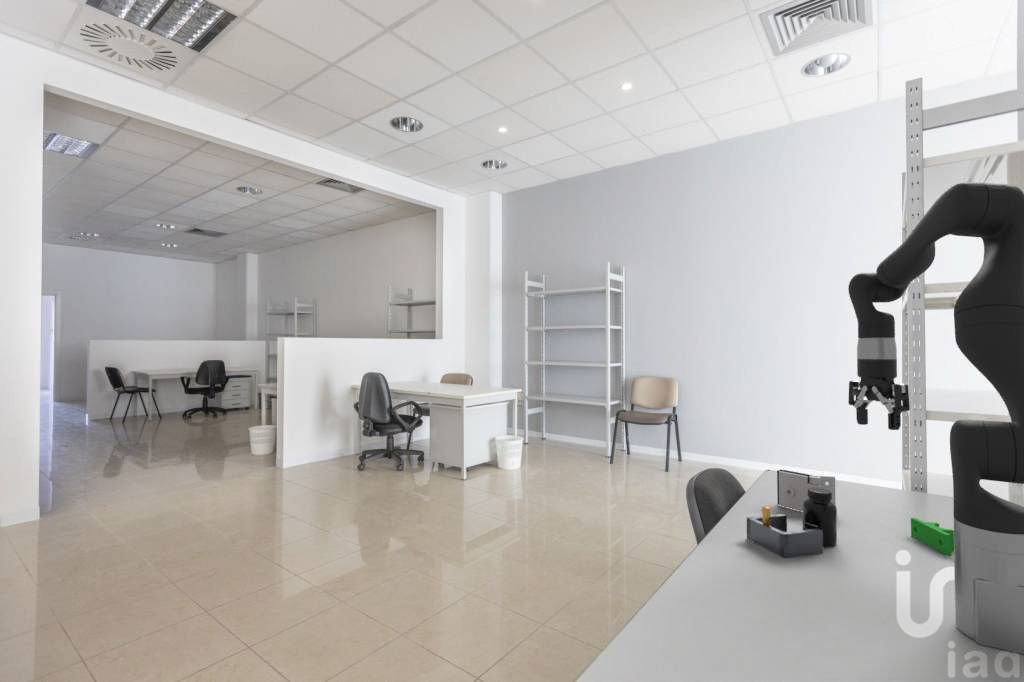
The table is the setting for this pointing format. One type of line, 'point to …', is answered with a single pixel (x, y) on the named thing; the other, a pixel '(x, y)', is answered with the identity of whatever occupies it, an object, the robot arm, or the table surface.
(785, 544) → the keeper cradle
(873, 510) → the table surface
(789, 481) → the hinge
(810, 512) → the supplement bottle
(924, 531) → the pipe clamp
